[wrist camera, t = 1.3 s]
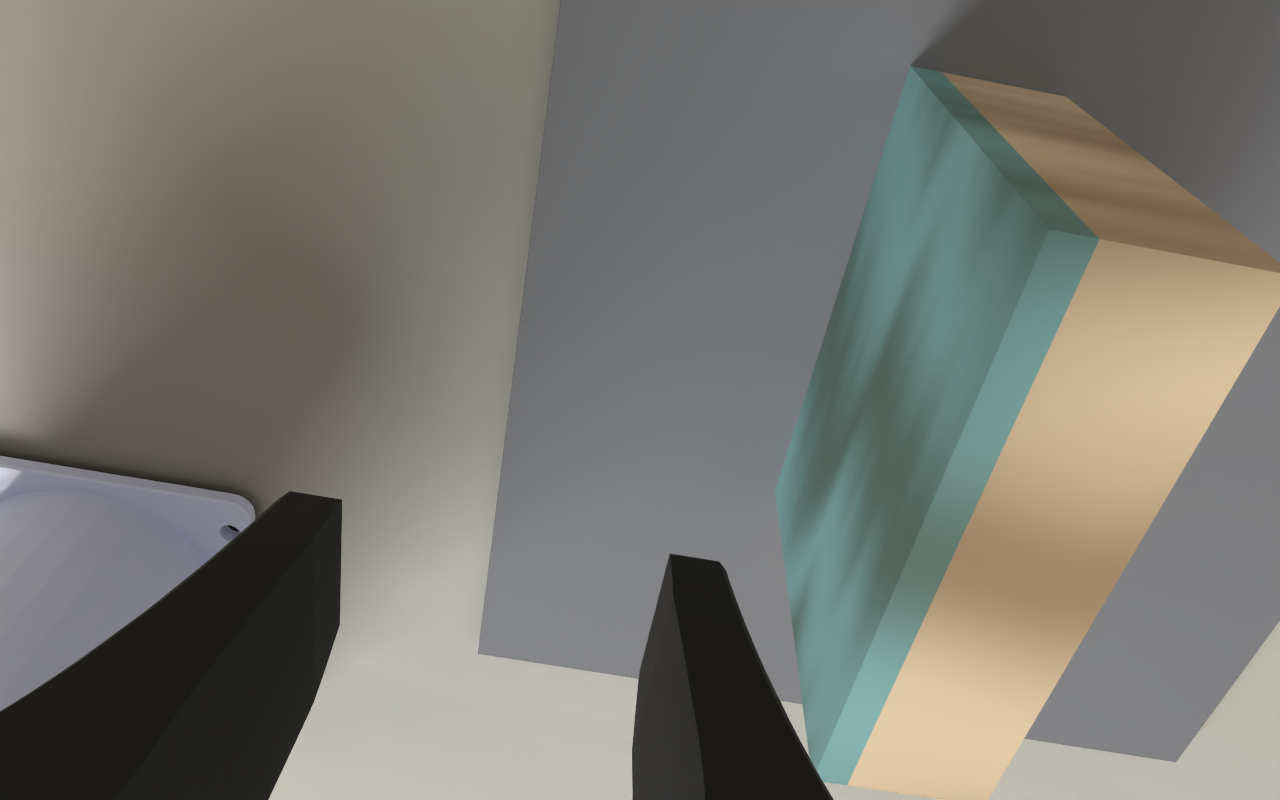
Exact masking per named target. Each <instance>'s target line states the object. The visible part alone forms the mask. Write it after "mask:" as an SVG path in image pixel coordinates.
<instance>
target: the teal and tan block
mask: <svg viewBox="0 0 1280 800" xmlns="http://www.w3.org/2000/svg"><path fill="white" fill-rule="evenodd" d="M1279 307H1280V262H1278V261H1277V260H1276V259H1274V258H1273V257H1272V256H1271V255H1269V254H1268V253H1267V252H1265V251H1264V250H1263V249H1262V248H1260V247H1259V246H1258V245H1256V244H1255V243H1254V242H1253V241H1251V240H1250V239H1249V238H1247V237H1246V236H1245V235H1243V234H1242V233H1241V232H1240V231H1238V230H1237V229H1236V228H1234V227H1233V226H1232V225H1231V224H1229V223H1228V222H1227V221H1225V220H1224V219H1223V218H1222V217H1220V216H1219V215H1218V214H1216V213H1215V212H1214V211H1213V210H1211V209H1210V208H1209V207H1207V206H1206V205H1205V204H1204V203H1202V202H1201V201H1200V200H1198V199H1197V198H1196V197H1195V196H1193V195H1192V194H1191V193H1189V192H1188V191H1187V190H1186V189H1184V188H1183V187H1182V186H1180V185H1179V184H1178V183H1177V182H1175V181H1174V180H1173V179H1171V178H1170V177H1169V176H1168V175H1166V174H1165V173H1164V172H1162V171H1161V170H1160V169H1159V168H1157V167H1156V166H1155V165H1153V164H1152V163H1151V162H1150V161H1148V160H1147V159H1146V158H1144V157H1143V156H1142V155H1140V154H1139V153H1138V152H1137V151H1135V150H1134V149H1133V148H1131V147H1130V146H1129V145H1128V144H1126V143H1125V142H1124V141H1122V140H1121V139H1120V138H1119V137H1117V136H1116V135H1115V134H1113V133H1112V132H1111V131H1110V130H1108V129H1107V128H1106V127H1104V126H1103V125H1102V124H1101V123H1099V122H1098V121H1097V120H1095V119H1094V118H1093V117H1092V116H1090V115H1089V114H1088V113H1086V112H1085V111H1084V110H1083V109H1081V108H1080V107H1079V106H1077V105H1076V104H1075V103H1074V102H1072V101H1071V100H1070V99H1068V98H1067V97H1065V96H1060V95H1055V94H1050V93H1045V92H1040V91H1035V90H1030V89H1025V88H1019V87H1014V86H1009V85H1004V84H999V83H994V82H989V81H984V80H979V79H974V78H969V77H964V76H959V75H954V74H949V73H944V72H938V71H933V70H928V69H923V68H918V67H913V66H910V68H909V71H908V74H907V78H906V81H905V84H904V87H903V90H902V93H901V96H900V99H899V103H898V106H897V109H896V112H895V115H894V118H893V121H892V125H891V128H890V131H889V134H888V137H887V140H886V143H885V147H884V150H883V153H882V156H881V159H880V162H879V165H878V169H877V172H876V175H875V178H874V181H873V184H872V187H871V191H870V194H869V197H868V200H867V203H866V206H865V209H864V213H863V216H862V219H861V222H860V225H859V228H858V231H857V235H856V238H855V241H854V244H853V247H852V250H851V253H850V257H849V260H848V263H847V266H846V269H845V272H844V275H843V279H842V282H841V285H840V288H839V291H838V294H837V297H836V301H835V304H834V307H833V310H832V313H831V316H830V319H829V323H828V326H827V329H826V332H825V335H824V338H823V341H822V345H821V348H820V351H819V354H818V357H817V360H816V363H815V367H814V370H813V373H812V376H811V379H810V382H809V385H808V389H807V392H806V395H805V398H804V401H803V404H802V407H801V411H800V414H799V417H798V420H797V423H796V426H795V429H794V433H793V436H792V439H791V442H790V445H789V448H788V451H787V455H786V458H785V461H784V464H783V467H782V470H781V473H780V477H779V480H778V483H777V486H776V489H775V497H776V504H777V512H778V520H779V527H780V535H781V543H782V550H783V558H784V566H785V573H786V581H787V588H788V596H789V604H790V611H791V619H792V627H793V634H794V642H795V650H796V657H797V665H798V673H799V680H800V688H801V695H802V703H803V711H804V718H805V726H806V734H807V741H808V749H809V757H810V760H811V761H812V763H813V765H814V767H815V769H816V770H817V772H818V774H819V776H820V778H821V779H822V781H823V782H829V783H835V784H842V785H849V786H855V787H862V788H869V789H875V790H882V791H889V792H895V793H902V794H909V795H915V796H922V797H928V798H935V799H942V800H988V799H989V797H990V795H991V794H992V792H993V790H994V789H995V787H996V785H997V784H998V782H999V780H1000V778H1001V777H1002V775H1003V773H1004V772H1005V770H1006V768H1007V767H1008V765H1009V763H1010V762H1011V760H1012V758H1013V756H1014V755H1015V753H1016V751H1017V750H1018V748H1019V746H1020V745H1021V743H1022V741H1023V740H1024V738H1025V736H1026V734H1027V733H1028V731H1029V729H1030V728H1031V726H1032V724H1033V723H1034V721H1035V719H1036V718H1037V716H1038V714H1039V713H1040V711H1041V709H1042V707H1043V706H1044V704H1045V702H1046V701H1047V699H1048V697H1049V696H1050V694H1051V692H1052V691H1053V689H1054V687H1055V685H1056V684H1057V682H1058V680H1059V679H1060V677H1061V675H1062V674H1063V672H1064V670H1065V669H1066V667H1067V665H1068V664H1069V662H1070V660H1071V658H1072V657H1073V655H1074V653H1075V652H1076V650H1077V648H1078V647H1079V645H1080V643H1081V642H1082V640H1083V638H1084V636H1085V635H1086V633H1087V631H1088V630H1089V628H1090V626H1091V625H1092V623H1093V621H1094V620H1095V618H1096V616H1097V615H1098V613H1099V611H1100V609H1101V608H1102V606H1103V604H1104V603H1105V601H1106V599H1107V598H1108V596H1109V594H1110V593H1111V591H1112V589H1113V587H1114V586H1115V584H1116V582H1117V581H1118V579H1119V577H1120V576H1121V574H1122V572H1123V571H1124V569H1125V567H1126V565H1127V564H1128V562H1129V560H1130V559H1131V557H1132V555H1133V554H1134V552H1135V550H1136V549H1137V547H1138V545H1139V544H1140V542H1141V540H1142V538H1143V537H1144V535H1145V533H1146V532H1147V530H1148V528H1149V527H1150V525H1151V523H1152V522H1153V520H1154V518H1155V516H1156V515H1157V513H1158V511H1159V510H1160V508H1161V506H1162V505H1163V503H1164V501H1165V500H1166V498H1167V496H1168V495H1169V493H1170V491H1171V489H1172V488H1173V486H1174V484H1175V483H1176V481H1177V479H1178V478H1179V476H1180V474H1181V473H1182V471H1183V469H1184V467H1185V466H1186V464H1187V462H1188V461H1189V459H1190V457H1191V456H1192V454H1193V452H1194V451H1195V449H1196V447H1197V446H1198V444H1199V442H1200V440H1201V439H1202V437H1203V435H1204V434H1205V432H1206V430H1207V429H1208V427H1209V425H1210V424H1211V422H1212V420H1213V418H1214V417H1215V415H1216V413H1217V412H1218V410H1219V408H1220V407H1221V405H1222V403H1223V402H1224V400H1225V398H1226V396H1227V395H1228V393H1229V391H1230V390H1231V388H1232V386H1233V385H1234V383H1235V381H1236V380H1237V378H1238V376H1239V375H1240V373H1241V371H1242V369H1243V368H1244V366H1245V364H1246V363H1247V361H1248V359H1249V358H1250V356H1251V354H1252V353H1253V351H1254V349H1255V347H1256V346H1257V344H1258V342H1259V341H1260V339H1261V337H1262V336H1263V334H1264V332H1265V331H1266V329H1267V327H1268V326H1269V324H1270V322H1271V320H1272V319H1273V317H1274V315H1275V314H1276V312H1277V310H1278V309H1279Z"/></svg>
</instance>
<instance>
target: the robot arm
mask: <svg viewBox="0 0 1280 800" xmlns="http://www.w3.org/2000/svg"><path fill="white" fill-rule="evenodd" d="M227 525H230V526H233V527H236V528H237V529H238V530H239V531H234V530H232V529H230V528H229V527H228V526H227ZM341 528H342V500H340V499H334V498H328V497H322V496H316V495H310V494H304V493H297V492H291V491H290V492H288V493H287V494H285V495H284V496H282V497H280V498H279V499H278V500H277V501H276V502H275V503H274V504H273V505H271V506H270V507H269V508H268V509H267V510H266V511H265V512H263V513H262V514H261V515H260V516H259V517H258V518H257V519H256V520H255V511H254V507H253V506H252V504H251V503H250V502H249V501H248V500H247V499H245V498H244V497H242V496H239V495H236V494H232V493H226V492H220V491H213V490H207V489H201V488H195V487H189V486H183V485H177V484H170V483H164V482H158V481H152V480H146V479H140V478H134V477H127V476H121V475H115V474H109V473H103V472H97V471H91V470H85V469H78V468H72V467H66V466H60V465H54V464H48V463H42V462H35V461H29V460H23V459H17V458H11V457H5V456H0V800H268V799H269V797H270V795H271V793H272V790H273V788H274V786H275V784H276V782H277V780H278V778H279V776H280V774H281V771H282V769H283V767H284V765H285V763H286V761H287V759H288V757H289V754H290V752H291V750H292V748H293V746H294V744H295V742H296V739H297V737H298V735H299V733H300V731H301V729H302V727H303V724H304V722H305V720H306V718H307V716H308V714H309V711H310V709H311V707H312V705H313V703H314V700H315V697H316V694H317V691H318V688H319V685H320V682H321V680H322V677H323V674H324V671H325V668H326V665H327V662H328V659H329V656H330V653H331V650H332V646H333V643H334V640H335V637H336V634H337V631H338V628H339V625H340V581H341ZM632 778H633V800H833V798H832V796H831V795H830V793H829V791H828V790H827V788H826V786H825V784H824V783H823V781H822V779H821V778H820V776H819V774H818V772H817V770H816V769H815V767H814V765H813V763H812V761H811V760H810V758H809V756H808V754H807V752H806V751H805V749H804V747H803V745H802V743H801V741H800V740H799V738H798V736H797V734H796V732H795V730H794V728H793V726H792V724H791V722H790V720H789V718H788V716H787V714H786V712H785V710H784V708H783V706H782V704H781V702H780V700H779V698H778V696H777V694H776V691H775V689H774V687H773V685H772V683H771V681H770V679H769V677H768V675H767V673H766V671H765V668H764V666H763V664H762V662H761V659H760V657H759V655H758V653H757V650H756V648H755V645H754V643H753V641H752V638H751V636H750V634H749V631H748V629H747V626H746V624H745V621H744V619H743V616H742V614H741V611H740V609H739V606H738V603H737V601H736V598H735V595H734V592H733V589H732V587H731V584H730V581H729V578H728V575H727V571H726V570H725V568H724V567H723V566H722V564H721V563H720V562H719V561H713V560H707V559H701V558H695V557H689V556H683V555H676V554H669V558H668V562H667V566H666V570H665V574H664V578H663V581H662V585H661V589H660V593H659V597H658V601H657V605H656V609H655V613H654V617H653V620H652V624H651V628H650V632H649V636H648V640H647V644H646V648H645V652H644V656H643V659H642V663H641V667H640V671H639V682H638V692H637V702H636V713H635V724H634V736H633V747H632Z"/></svg>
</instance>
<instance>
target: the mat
mask: <svg viewBox="0 0 1280 800" xmlns="http://www.w3.org/2000/svg"><path fill="white" fill-rule="evenodd" d="M910 66H913V67H918V68H923V69H928V70H933V71H938V72H944V73H949V74H954V75H959V76H964V77H969V78H974V79H979V80H984V81H989V82H994V83H999V84H1004V85H1009V86H1014V87H1019V88H1025V89H1030V90H1035V91H1040V92H1045V93H1050V94H1055V95H1060V96H1065V97H1067V98H1068V99H1070V100H1071V101H1072V102H1074V103H1075V104H1076V105H1077V106H1079V107H1080V108H1081V109H1083V110H1084V111H1085V112H1086V113H1088V114H1089V115H1090V116H1092V117H1093V118H1094V119H1095V120H1097V121H1098V122H1099V123H1101V124H1102V125H1103V126H1104V127H1106V128H1107V129H1108V130H1110V131H1111V132H1112V133H1113V134H1115V135H1116V136H1117V137H1119V138H1120V139H1121V140H1122V141H1124V142H1125V143H1126V144H1128V145H1129V146H1130V147H1131V148H1133V149H1134V150H1135V151H1137V152H1138V153H1139V154H1140V155H1142V156H1143V157H1144V158H1146V159H1147V160H1148V161H1150V162H1151V163H1152V164H1153V165H1155V166H1156V167H1157V168H1159V169H1160V170H1161V171H1162V172H1164V173H1165V174H1166V175H1168V176H1169V177H1170V178H1171V179H1173V180H1174V181H1175V182H1177V183H1178V184H1179V185H1180V186H1182V187H1183V188H1184V189H1186V190H1187V191H1188V192H1189V193H1191V194H1192V195H1193V196H1195V197H1196V198H1197V199H1198V200H1200V201H1201V202H1202V203H1204V204H1205V205H1206V206H1207V207H1209V208H1210V209H1211V210H1213V211H1214V212H1215V213H1216V214H1218V215H1219V216H1220V217H1222V218H1223V219H1224V220H1225V221H1227V222H1228V223H1229V224H1231V225H1232V226H1233V227H1234V228H1236V229H1237V230H1238V231H1240V232H1241V233H1242V234H1243V235H1245V236H1246V237H1247V238H1249V239H1250V240H1251V241H1253V242H1254V243H1255V244H1256V245H1258V246H1259V247H1260V248H1262V249H1263V250H1264V251H1265V252H1267V253H1268V254H1269V255H1271V256H1272V257H1273V258H1274V259H1276V260H1277V261H1278V262H1280V0H561V3H560V11H559V19H558V27H557V35H556V42H555V50H554V58H553V66H552V74H551V82H550V90H549V97H548V105H547V113H546V121H545V129H544V137H543V145H542V153H541V160H540V168H539V176H538V184H537V192H536V200H535V208H534V215H533V223H532V231H531V239H530V247H529V255H528V263H527V271H526V278H525V286H524V294H523V302H522V310H521V318H520V326H519V333H518V341H517V349H516V357H515V365H514V373H513V381H512V389H511V396H510V404H509V412H508V420H507V428H506V436H505V444H504V451H503V459H502V467H501V475H500V483H499V491H498V499H497V507H496V514H495V522H494V530H493V538H492V546H491V554H490V562H489V569H488V577H487V585H486V593H485V601H484V609H483V617H482V625H481V632H480V640H479V648H478V654H483V655H490V656H496V657H503V658H509V659H516V660H522V661H528V662H535V663H541V664H548V665H554V666H561V667H567V668H573V669H580V670H586V671H593V672H599V673H606V674H612V675H619V676H625V677H631V678H638V679H639V671H640V667H641V663H642V659H643V656H644V652H645V648H646V644H647V640H648V636H649V632H650V628H651V624H652V620H653V617H654V613H655V609H656V605H657V601H658V597H659V593H660V589H661V585H662V581H663V578H664V574H665V570H666V566H667V562H668V558H669V554H676V555H683V556H689V557H695V558H701V559H707V560H713V561H719V562H720V563H721V564H722V566H723V567H724V568H725V570H726V571H727V575H728V578H729V581H730V584H731V587H732V589H733V592H734V595H735V598H736V601H737V603H738V606H739V609H740V611H741V614H742V616H743V619H744V621H745V624H746V626H747V629H748V631H749V634H750V636H751V638H752V641H753V643H754V645H755V648H756V650H757V653H758V655H759V657H760V659H761V662H762V664H763V666H764V668H765V671H766V673H767V675H768V677H769V679H770V681H771V683H772V685H773V687H774V689H775V691H776V694H777V696H778V698H779V700H780V701H786V702H792V703H799V704H803V703H802V695H801V688H800V680H799V673H798V665H797V657H796V650H795V642H794V634H793V627H792V619H791V611H790V604H789V596H788V588H787V581H786V573H785V566H784V558H783V550H782V543H781V535H780V527H779V520H778V512H777V504H776V497H775V489H776V486H777V483H778V480H779V477H780V473H781V470H782V467H783V464H784V461H785V458H786V455H787V451H788V448H789V445H790V442H791V439H792V436H793V433H794V429H795V426H796V423H797V420H798V417H799V414H800V411H801V407H802V404H803V401H804V398H805V395H806V392H807V389H808V385H809V382H810V379H811V376H812V373H813V370H814V367H815V363H816V360H817V357H818V354H819V351H820V348H821V345H822V341H823V338H824V335H825V332H826V329H827V326H828V323H829V319H830V316H831V313H832V310H833V307H834V304H835V301H836V297H837V294H838V291H839V288H840V285H841V282H842V279H843V275H844V272H845V269H846V266H847V263H848V260H849V257H850V253H851V250H852V247H853V244H854V241H855V238H856V235H857V231H858V228H859V225H860V222H861V219H862V216H863V213H864V209H865V206H866V203H867V200H868V197H869V194H870V191H871V187H872V184H873V181H874V178H875V175H876V172H877V169H878V165H879V162H880V159H881V156H882V153H883V150H884V147H885V143H886V140H887V137H888V134H889V131H890V128H891V125H892V121H893V118H894V115H895V112H896V109H897V106H898V103H899V99H900V96H901V93H902V90H903V87H904V84H905V81H906V78H907V74H908V71H909V68H910ZM1279 621H1280V307H1279V309H1278V310H1277V312H1276V314H1275V315H1274V317H1273V319H1272V320H1271V322H1270V324H1269V326H1268V327H1267V329H1266V331H1265V332H1264V334H1263V336H1262V337H1261V339H1260V341H1259V342H1258V344H1257V346H1256V347H1255V349H1254V351H1253V353H1252V354H1251V356H1250V358H1249V359H1248V361H1247V363H1246V364H1245V366H1244V368H1243V369H1242V371H1241V373H1240V375H1239V376H1238V378H1237V380H1236V381H1235V383H1234V385H1233V386H1232V388H1231V390H1230V391H1229V393H1228V395H1227V396H1226V398H1225V400H1224V402H1223V403H1222V405H1221V407H1220V408H1219V410H1218V412H1217V413H1216V415H1215V417H1214V418H1213V420H1212V422H1211V424H1210V425H1209V427H1208V429H1207V430H1206V432H1205V434H1204V435H1203V437H1202V439H1201V440H1200V442H1199V444H1198V446H1197V447H1196V449H1195V451H1194V452H1193V454H1192V456H1191V457H1190V459H1189V461H1188V462H1187V464H1186V466H1185V467H1184V469H1183V471H1182V473H1181V474H1180V476H1179V478H1178V479H1177V481H1176V483H1175V484H1174V486H1173V488H1172V489H1171V491H1170V493H1169V495H1168V496H1167V498H1166V500H1165V501H1164V503H1163V505H1162V506H1161V508H1160V510H1159V511H1158V513H1157V515H1156V516H1155V518H1154V520H1153V522H1152V523H1151V525H1150V527H1149V528H1148V530H1147V532H1146V533H1145V535H1144V537H1143V538H1142V540H1141V542H1140V544H1139V545H1138V547H1137V549H1136V550H1135V552H1134V554H1133V555H1132V557H1131V559H1130V560H1129V562H1128V564H1127V565H1126V567H1125V569H1124V571H1123V572H1122V574H1121V576H1120V577H1119V579H1118V581H1117V582H1116V584H1115V586H1114V587H1113V589H1112V591H1111V593H1110V594H1109V596H1108V598H1107V599H1106V601H1105V603H1104V604H1103V606H1102V608H1101V609H1100V611H1099V613H1098V615H1097V616H1096V618H1095V620H1094V621H1093V623H1092V625H1091V626H1090V628H1089V630H1088V631H1087V633H1086V635H1085V636H1084V638H1083V640H1082V642H1081V643H1080V645H1079V647H1078V648H1077V650H1076V652H1075V653H1074V655H1073V657H1072V658H1071V660H1070V662H1069V664H1068V665H1067V667H1066V669H1065V670H1064V672H1063V674H1062V675H1061V677H1060V679H1059V680H1058V682H1057V684H1056V685H1055V687H1054V689H1053V691H1052V692H1051V694H1050V696H1049V697H1048V699H1047V701H1046V702H1045V704H1044V706H1043V707H1042V709H1041V711H1040V713H1039V714H1038V716H1037V718H1036V719H1035V721H1034V723H1033V724H1032V726H1031V728H1030V729H1029V731H1028V733H1027V734H1026V736H1025V738H1024V739H1031V740H1037V741H1044V742H1050V743H1056V744H1063V745H1069V746H1076V747H1082V748H1089V749H1095V750H1101V751H1108V752H1114V753H1121V754H1127V755H1134V756H1140V757H1147V758H1153V759H1159V760H1166V761H1172V762H1176V761H1177V760H1178V759H1179V757H1180V756H1181V754H1182V753H1183V752H1184V750H1185V749H1186V748H1187V746H1188V745H1189V744H1190V742H1191V741H1192V739H1193V738H1194V737H1195V735H1196V734H1197V733H1198V731H1199V730H1200V729H1201V727H1202V726H1203V724H1204V723H1205V722H1206V720H1207V719H1208V718H1209V716H1210V715H1211V714H1212V712H1213V711H1214V709H1215V708H1216V707H1217V705H1218V704H1219V703H1220V701H1221V700H1222V699H1223V697H1224V696H1225V694H1226V693H1227V692H1228V690H1229V689H1230V688H1231V686H1232V685H1233V684H1234V682H1235V681H1236V679H1237V678H1238V677H1239V675H1240V674H1241V673H1242V671H1243V670H1244V668H1245V667H1246V666H1247V664H1248V663H1249V662H1250V660H1251V659H1252V658H1253V656H1254V655H1255V653H1256V652H1257V651H1258V649H1259V648H1260V647H1261V645H1262V644H1263V643H1264V641H1265V640H1266V638H1267V637H1268V636H1269V634H1270V633H1271V632H1272V630H1273V629H1274V628H1275V626H1276V625H1277V623H1278V622H1279Z"/></svg>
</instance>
